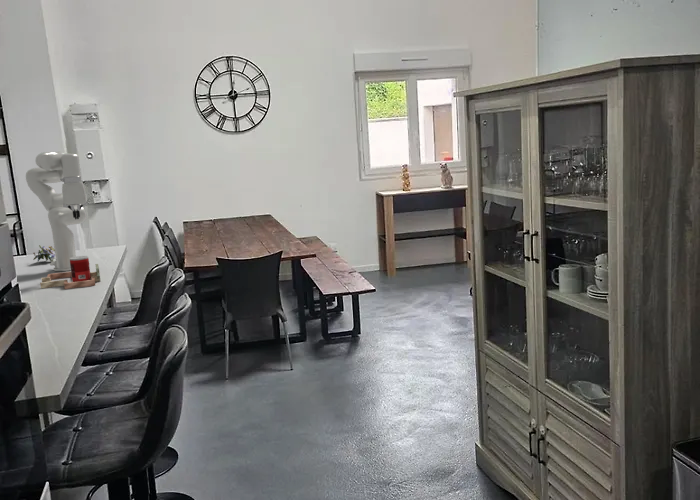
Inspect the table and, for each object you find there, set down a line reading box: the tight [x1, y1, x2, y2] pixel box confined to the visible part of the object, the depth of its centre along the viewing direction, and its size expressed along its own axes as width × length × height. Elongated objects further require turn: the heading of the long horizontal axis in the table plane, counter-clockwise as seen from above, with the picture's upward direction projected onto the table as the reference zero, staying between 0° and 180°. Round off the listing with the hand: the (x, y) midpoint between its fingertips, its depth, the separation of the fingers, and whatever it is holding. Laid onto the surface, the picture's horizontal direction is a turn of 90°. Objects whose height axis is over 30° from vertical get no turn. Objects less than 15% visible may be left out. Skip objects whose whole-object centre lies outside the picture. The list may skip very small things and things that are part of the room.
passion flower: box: [32, 245, 56, 262], centre depth 350 cm, size 11×11×12 cm
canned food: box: [70, 255, 92, 282], centre depth 295 cm, size 8×8×11 cm
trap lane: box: [39, 263, 101, 290], centre depth 293 cm, size 25×29×6 cm
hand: (76, 218), depth 308 cm, fingers closed
